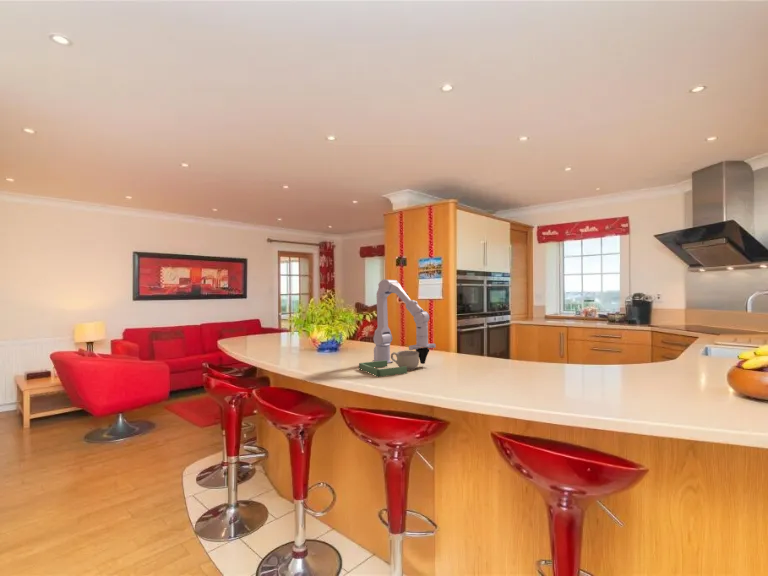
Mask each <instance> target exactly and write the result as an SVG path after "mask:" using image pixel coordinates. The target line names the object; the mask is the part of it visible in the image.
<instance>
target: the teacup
mask: <svg viewBox="0 0 768 576" xmlns="http://www.w3.org/2000/svg"><path fill="white" fill-rule="evenodd" d="M394 355H395V357H396V358H394ZM390 360H391V361H393V363H395V364H396V365H397V367H403V366H406V367H407V371H412V370H415V369H416V368H418V366H419V362H420V359H419V352H417V351H416V350H400V351H397V352H392V353H390Z"/></svg>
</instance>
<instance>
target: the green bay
mask: <svg viewBox="0 0 768 576" xmlns="http://www.w3.org/2000/svg"><path fill="white" fill-rule="evenodd" d="M383 366H387V367H388V363H387V360H384V361H374V362H373V361H366V362H359V363H358V369H359V368H360V369H362V370H364V371H367V372H369V373H371V374H370V375H372V374H374V375H376V376H375V377H377V376H382V377H387V376H386V375H390V376H396V375H395V374H398V375H405V374H408V370H407V367H406V366H403V367H399V366H397V367H396V366H395V367H388V368H387V367H386V368H384V367H383ZM374 367H380V368H374ZM362 370H361V371H362ZM364 371H363V372H364ZM367 372H366V373H367ZM369 373H368V374H369ZM404 373H405V374H404ZM374 375H373V376H374Z"/></svg>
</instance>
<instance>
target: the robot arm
mask: <svg viewBox="0 0 768 576" xmlns="http://www.w3.org/2000/svg"><path fill="white" fill-rule="evenodd" d="M377 289H378V290H377V291H376V313H377V319H376V321H377V328H376V329H375V330H374V335H373V337H372V339H373V342H374V344H375V346H374V348H373V359H372V362H373V361H384V360H387V364H389V363H391V362H392V363H394V361H393V360H391V343H392V341H393V335H392V332H391V329H390V327H389V319H388V317H389V316H388V315H389V314H388V297H390V295H391V294H395V295H397V296H398V298H399V299H400V300H401V301H402V302H403V303H404V304H405V308H406V310H407V311H408V312H409V313H410V315H411V316H413V321H414V323H415V327H416V328H415V330H416V332H415V334H416V337H415V338H416V340H415V342H416V344H413V345H408V351H417V352H419V362H420V364H422V365H425V364H426V361H427V356H428V354H429V352H430V349H435V348H436V347H437V345H436V343H429V326H428V324H429V323H428V322H429V321H430V314H429V313H428V311H426V310H424V309H423V308H422V307H421V306H420V304H419V303H418V301H417V300H415V299H411V298H410V297H409V295H408V294H407V293H406V291H405V290H404V289H403V287H402V285H401V283H399V281H398V280H397V279H385V278H384V279H382V280H381V281H380V282H379V283H378V288H377Z"/></svg>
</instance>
